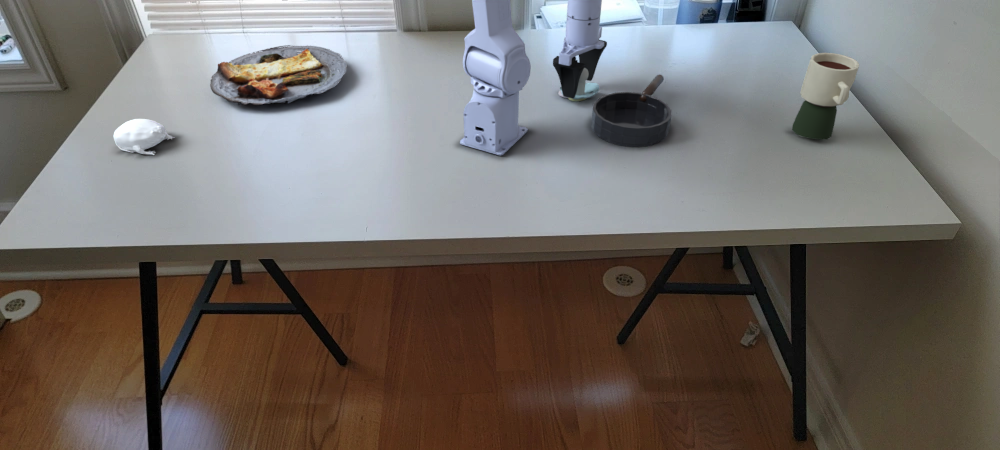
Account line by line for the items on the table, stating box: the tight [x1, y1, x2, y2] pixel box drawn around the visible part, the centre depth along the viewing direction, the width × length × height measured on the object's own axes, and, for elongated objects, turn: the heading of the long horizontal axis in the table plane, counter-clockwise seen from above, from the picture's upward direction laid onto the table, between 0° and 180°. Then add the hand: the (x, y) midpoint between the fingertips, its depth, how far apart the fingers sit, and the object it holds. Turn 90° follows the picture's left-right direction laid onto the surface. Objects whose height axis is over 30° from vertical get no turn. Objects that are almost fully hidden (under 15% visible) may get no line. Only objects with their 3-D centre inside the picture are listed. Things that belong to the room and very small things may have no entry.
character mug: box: [791, 52, 860, 140], centre depth 105 cm, size 11×7×13 cm, turn 3°
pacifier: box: [557, 68, 600, 102], centre depth 119 cm, size 7×6×6 cm
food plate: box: [209, 44, 348, 106], centre depth 124 cm, size 25×23×4 cm
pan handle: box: [640, 74, 665, 102], centre depth 117 cm, size 10×2×2 cm, turn 151°
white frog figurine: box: [113, 118, 176, 156], centre depth 105 cm, size 8×7×4 cm
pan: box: [590, 91, 673, 148], centre depth 110 cm, size 13×13×4 cm
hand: (577, 87), depth 119 cm, fingers open, 7 cm apart
